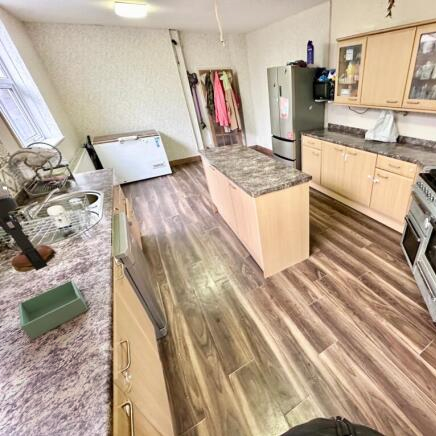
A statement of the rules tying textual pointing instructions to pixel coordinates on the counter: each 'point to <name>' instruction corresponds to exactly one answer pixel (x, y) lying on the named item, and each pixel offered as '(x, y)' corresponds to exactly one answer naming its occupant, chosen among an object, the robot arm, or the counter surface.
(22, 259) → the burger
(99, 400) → the counter surface
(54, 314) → the green shallow tray
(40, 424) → the counter surface
